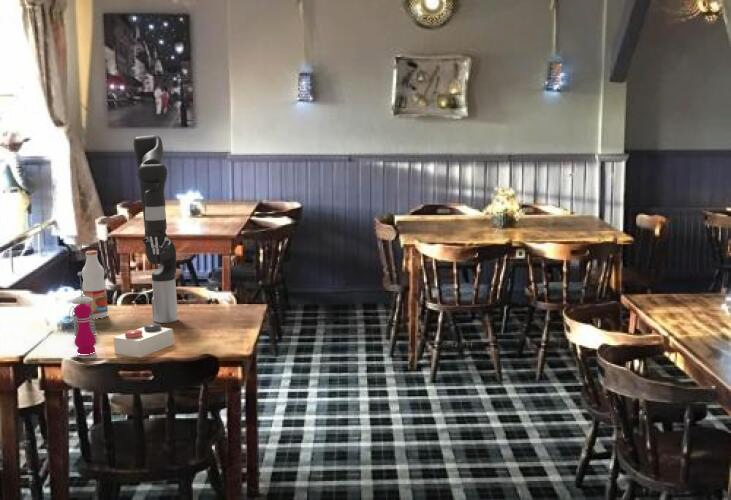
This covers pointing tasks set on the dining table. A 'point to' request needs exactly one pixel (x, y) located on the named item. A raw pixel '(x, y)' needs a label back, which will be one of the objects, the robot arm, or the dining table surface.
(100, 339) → the dining table surface
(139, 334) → the red button
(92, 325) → the french press
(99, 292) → the fruit juice
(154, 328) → the dark grey knob
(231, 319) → the dining table surface
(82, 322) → the pepper mill
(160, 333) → the control box
